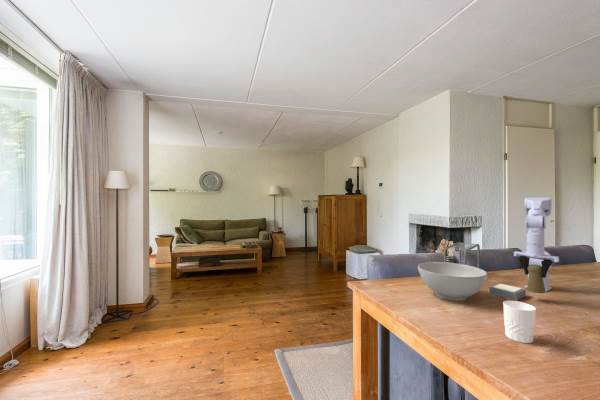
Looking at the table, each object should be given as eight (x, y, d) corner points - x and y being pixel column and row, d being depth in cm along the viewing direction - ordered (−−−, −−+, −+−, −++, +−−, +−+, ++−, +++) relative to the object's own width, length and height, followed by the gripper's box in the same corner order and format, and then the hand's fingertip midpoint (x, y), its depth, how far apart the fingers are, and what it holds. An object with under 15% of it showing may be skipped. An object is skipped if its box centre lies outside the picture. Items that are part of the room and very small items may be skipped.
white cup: (496, 332, 86) (496, 300, 86) (519, 331, 87) (519, 300, 87) (518, 345, 79) (518, 310, 79) (543, 344, 79) (543, 310, 79)
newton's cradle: (466, 285, 134) (466, 250, 134) (443, 281, 141) (443, 247, 141) (479, 274, 155) (479, 243, 155) (459, 270, 162) (459, 241, 163)
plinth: (499, 289, 128) (499, 282, 128) (525, 296, 119) (525, 288, 119) (489, 293, 122) (489, 286, 122) (516, 300, 114) (516, 292, 114)
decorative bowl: (492, 295, 120) (492, 268, 120) (480, 313, 100) (480, 281, 100) (428, 282, 138) (428, 259, 138) (408, 296, 119) (408, 268, 119)
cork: (549, 293, 110) (548, 266, 111) (532, 292, 111) (531, 266, 112) (539, 289, 116) (538, 263, 117) (523, 288, 117) (522, 263, 118)
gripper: (511, 242, 118) (510, 273, 118) (555, 247, 106) (555, 281, 106) (517, 241, 122) (517, 271, 122) (560, 245, 110) (560, 278, 110)
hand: (535, 275), depth 114 cm, fingers closed on cork, 5 cm apart
